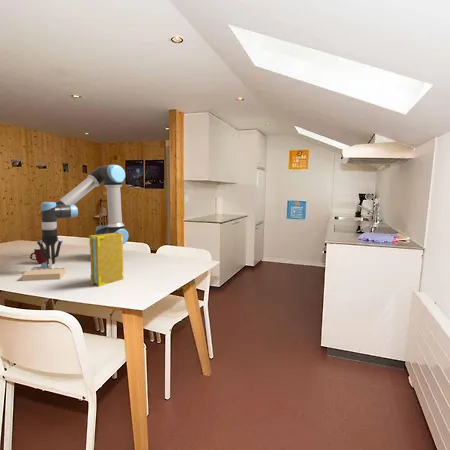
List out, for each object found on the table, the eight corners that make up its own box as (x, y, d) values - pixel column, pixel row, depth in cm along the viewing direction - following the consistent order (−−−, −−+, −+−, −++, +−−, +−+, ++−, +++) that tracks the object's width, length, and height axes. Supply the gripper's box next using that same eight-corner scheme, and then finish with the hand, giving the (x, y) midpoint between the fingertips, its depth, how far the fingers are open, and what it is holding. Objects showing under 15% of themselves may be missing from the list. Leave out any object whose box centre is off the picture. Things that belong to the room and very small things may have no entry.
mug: (31, 265, 192) (30, 250, 191) (29, 263, 198) (28, 248, 197) (50, 263, 199) (50, 248, 197) (48, 261, 205) (47, 246, 204)
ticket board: (65, 273, 176) (65, 267, 176) (59, 279, 165) (59, 273, 164) (30, 274, 172) (30, 269, 172) (22, 280, 160) (21, 274, 160)
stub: (49, 271, 179) (49, 262, 179) (46, 273, 174) (46, 264, 174) (34, 271, 178) (33, 262, 177) (30, 274, 172) (30, 264, 172)
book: (99, 286, 153) (97, 237, 151) (90, 284, 157) (89, 235, 154) (126, 278, 168) (125, 233, 165) (118, 276, 171) (117, 232, 168)
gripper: (63, 228, 180) (65, 267, 183) (39, 228, 177) (40, 268, 179) (60, 229, 173) (61, 270, 175) (34, 230, 170) (36, 271, 172)
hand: (51, 269), depth 177 cm, fingers closed
